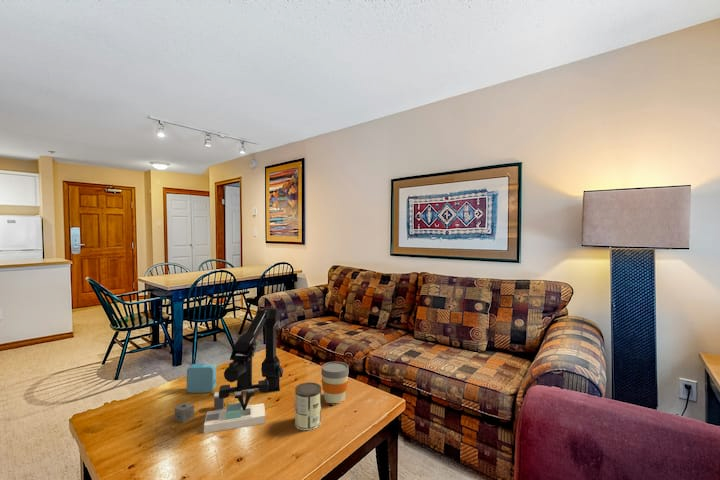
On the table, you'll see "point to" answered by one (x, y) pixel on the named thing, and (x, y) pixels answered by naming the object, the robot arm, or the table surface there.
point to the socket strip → (248, 418)
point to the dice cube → (184, 412)
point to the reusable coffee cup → (334, 381)
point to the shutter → (233, 411)
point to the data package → (201, 378)
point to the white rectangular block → (218, 402)
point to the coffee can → (307, 406)
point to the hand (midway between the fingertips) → (244, 409)
